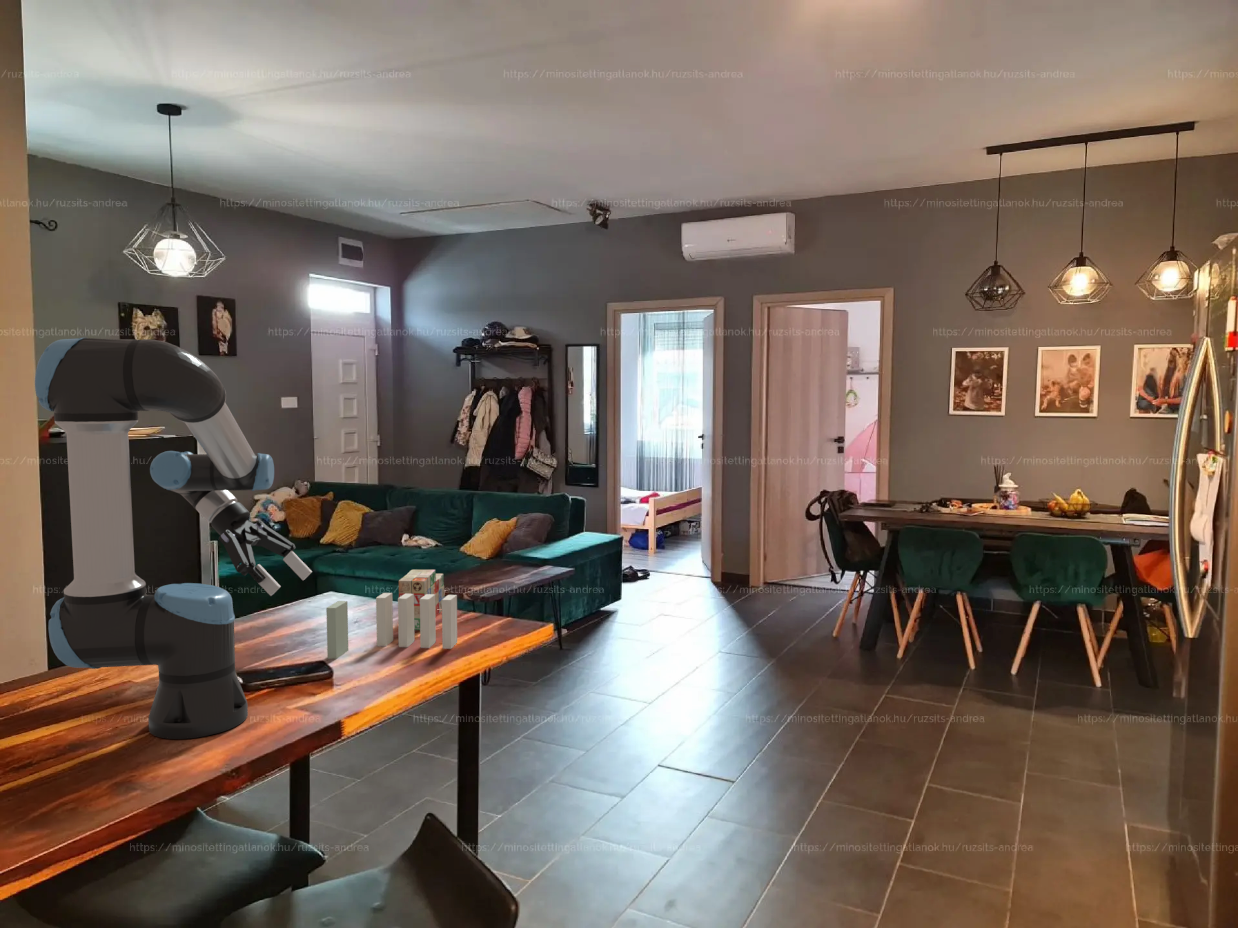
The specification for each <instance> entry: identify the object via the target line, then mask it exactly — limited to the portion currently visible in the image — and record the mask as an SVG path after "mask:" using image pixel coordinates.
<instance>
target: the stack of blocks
mask: <svg viewBox="0 0 1238 928" xmlns="http://www.w3.org/2000/svg"><path fill="white" fill-rule="evenodd" d="M436 572H437V571H436V569H411V570H409V572H407V574H405V575H404V576H403V577H401V578H400V579H399V580H398V598H399V597H401V596H402V595H404V594H414V631H420V599H421V598H422V597H423V596H425V595H426V594H435V618H437V616H438V615H439V614H441V613H442V610H437V609H442V599H443V598H445V585H444V584H445V582H444V581H445V580H444V579H445V578H444V573H436Z"/></svg>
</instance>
